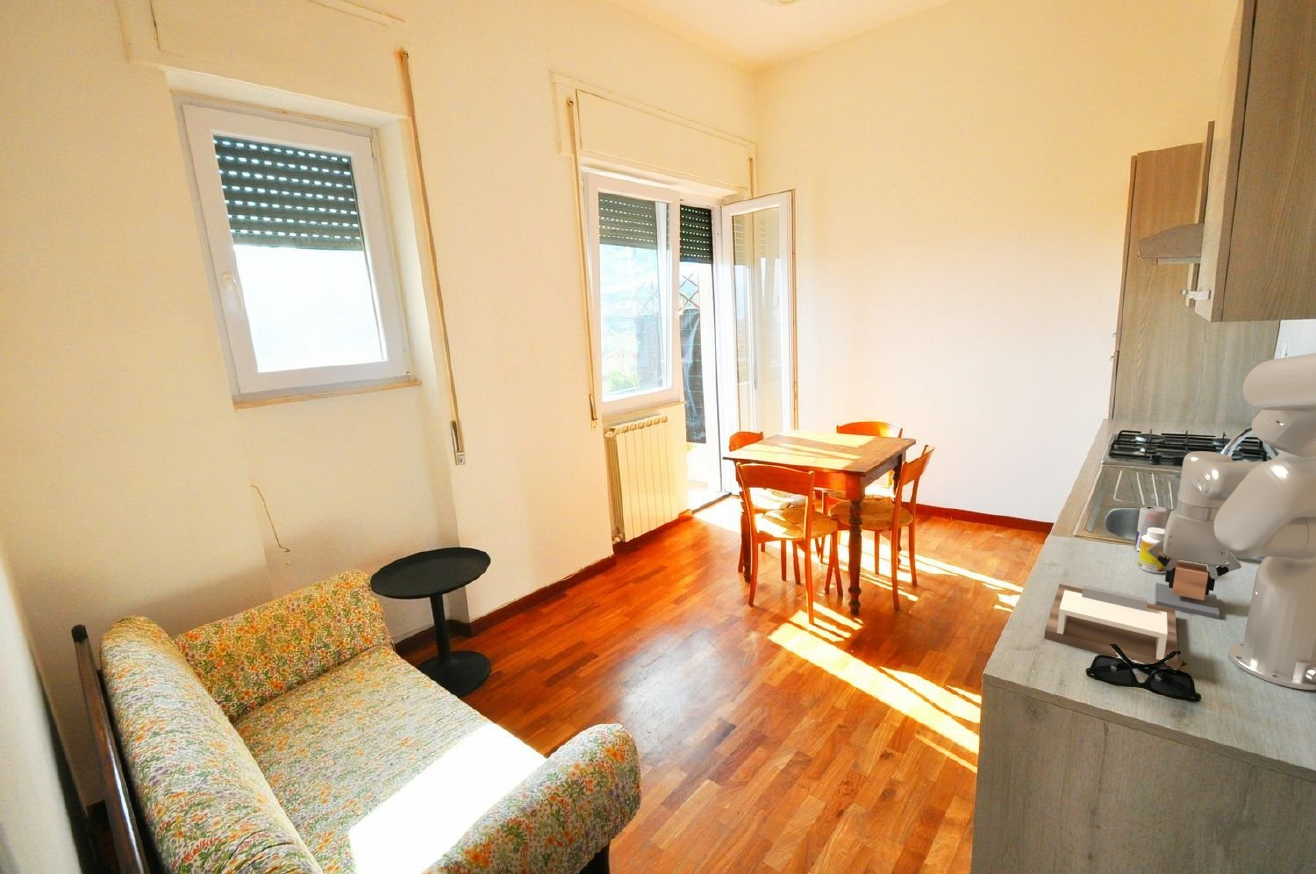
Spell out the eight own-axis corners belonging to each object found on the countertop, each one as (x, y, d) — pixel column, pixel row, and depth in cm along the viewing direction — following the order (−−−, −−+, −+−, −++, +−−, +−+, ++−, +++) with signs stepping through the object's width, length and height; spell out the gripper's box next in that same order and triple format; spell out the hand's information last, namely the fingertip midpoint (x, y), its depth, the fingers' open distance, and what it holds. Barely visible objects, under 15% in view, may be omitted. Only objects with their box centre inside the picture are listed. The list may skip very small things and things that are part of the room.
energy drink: (1151, 547, 152) (1157, 504, 149) (1166, 556, 146) (1173, 511, 144) (1129, 547, 152) (1135, 505, 149) (1144, 556, 147) (1150, 512, 144)
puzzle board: (1058, 591, 133) (1059, 583, 133) (1173, 617, 120) (1175, 608, 120) (1044, 638, 116) (1045, 629, 116) (1176, 674, 103) (1177, 664, 103)
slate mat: (1215, 598, 126) (1216, 594, 126) (1219, 619, 119) (1219, 614, 119) (1155, 586, 133) (1156, 582, 132) (1155, 605, 125) (1156, 601, 125)
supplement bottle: (1162, 576, 137) (1168, 536, 134) (1134, 568, 141) (1139, 530, 139) (1171, 569, 140) (1177, 530, 137) (1142, 562, 144) (1148, 524, 142)
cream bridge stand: (1062, 612, 121) (1065, 581, 119) (1163, 637, 110) (1168, 603, 109) (1056, 632, 114) (1060, 599, 112) (1163, 660, 104) (1168, 624, 102)
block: (1171, 584, 129) (1175, 560, 127) (1202, 590, 125) (1206, 565, 124) (1172, 594, 125) (1176, 568, 123) (1203, 600, 122) (1208, 574, 120)
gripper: (1255, 512, 118) (1241, 592, 122) (1147, 498, 129) (1137, 572, 133) (1260, 524, 113) (1245, 607, 117) (1147, 508, 123) (1136, 585, 128)
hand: (1188, 588), depth 125 cm, fingers closed on block, 5 cm apart
